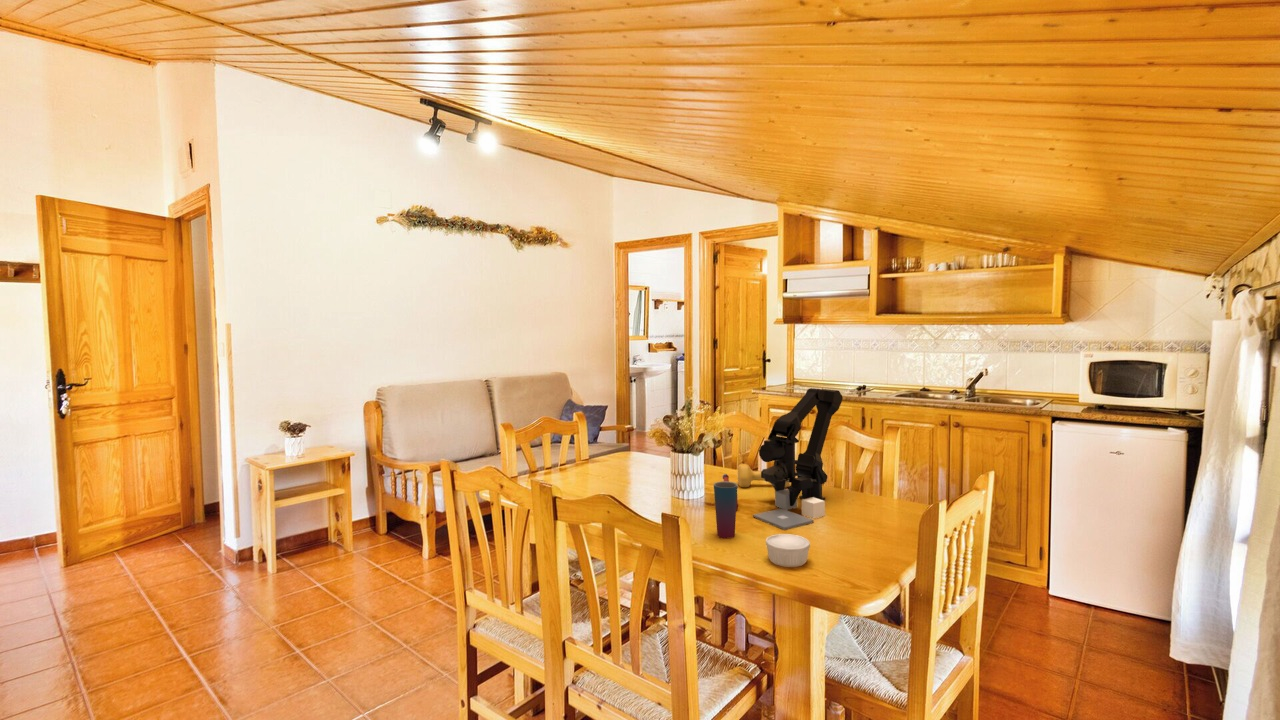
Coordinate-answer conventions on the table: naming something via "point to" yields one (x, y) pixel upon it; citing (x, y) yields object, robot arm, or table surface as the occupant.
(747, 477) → the dumbbell
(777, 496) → the slate block
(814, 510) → the cream block
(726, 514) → the cup
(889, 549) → the table surface
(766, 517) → the baseplate
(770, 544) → the ramekin
